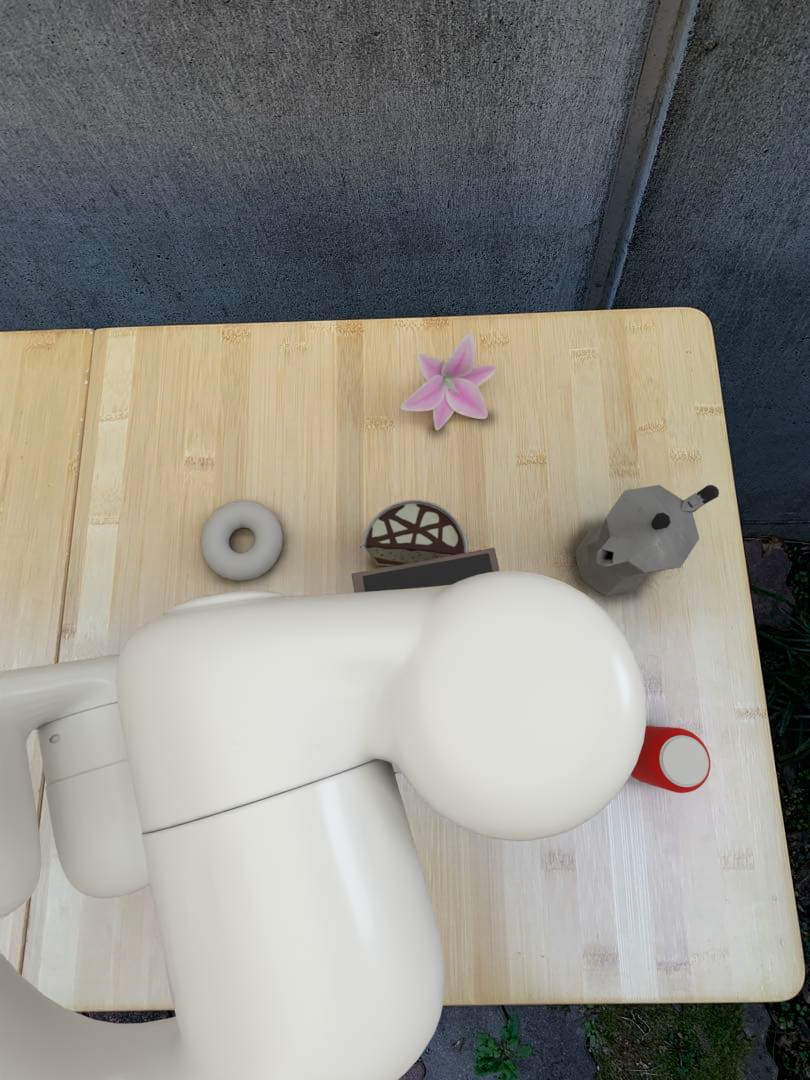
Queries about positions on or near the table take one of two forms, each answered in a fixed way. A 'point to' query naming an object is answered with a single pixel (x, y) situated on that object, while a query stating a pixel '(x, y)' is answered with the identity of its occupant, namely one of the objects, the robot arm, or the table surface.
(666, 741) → the beverage can
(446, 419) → the lily
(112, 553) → the table surface
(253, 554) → the donut
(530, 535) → the table surface
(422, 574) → the black pad
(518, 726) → the robot arm
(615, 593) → the coffeepot
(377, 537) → the chocolate cake
